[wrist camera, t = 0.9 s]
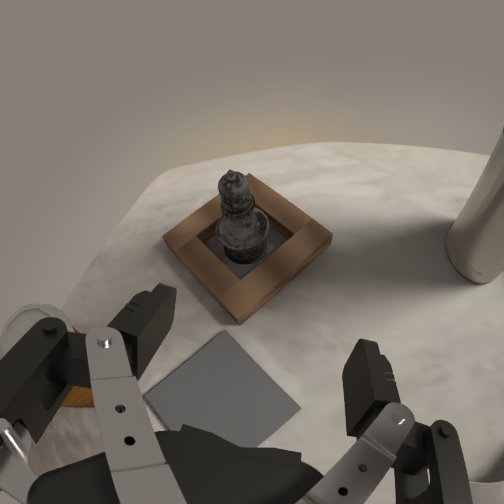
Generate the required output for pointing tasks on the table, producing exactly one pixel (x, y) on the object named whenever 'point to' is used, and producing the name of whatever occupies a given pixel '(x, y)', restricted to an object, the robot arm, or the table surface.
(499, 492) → the spoon rest
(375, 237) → the table surface
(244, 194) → the black chess piece
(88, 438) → the table surface
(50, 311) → the disposable coffee cup
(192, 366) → the charcoal coaster
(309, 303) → the table surface
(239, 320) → the walnut holder
